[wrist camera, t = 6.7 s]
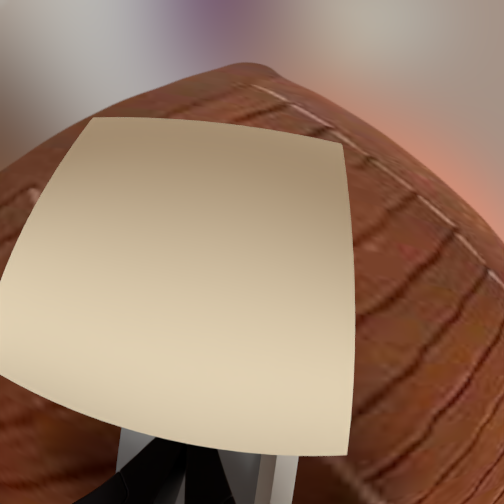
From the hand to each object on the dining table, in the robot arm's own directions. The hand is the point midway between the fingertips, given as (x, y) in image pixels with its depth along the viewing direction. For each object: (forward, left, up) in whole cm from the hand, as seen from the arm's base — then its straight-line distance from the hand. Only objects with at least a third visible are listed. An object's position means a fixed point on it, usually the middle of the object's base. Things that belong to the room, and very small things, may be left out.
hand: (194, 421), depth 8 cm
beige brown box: (+3, 0, -5) cm, 5 cm away
